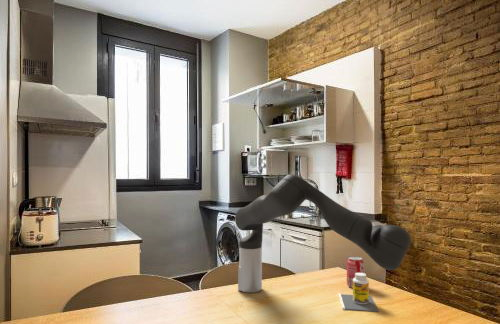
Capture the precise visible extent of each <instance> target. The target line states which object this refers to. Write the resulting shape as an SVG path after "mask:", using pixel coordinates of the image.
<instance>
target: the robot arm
mask: <svg viewBox="0 0 500 324" xmlns="http://www.w3.org/2000/svg"><path fill="white" fill-rule="evenodd" d="M305 201H309V202H310V203H312V204H314V205H315V206H316V207H317V209H318V211H320V214H321V215H322V217H323V219H324V221H325V222H326V224H327V225H328V227H329V228H330V229H331V230H332V231H333V232H335V233H336V234H338V235H339V236H342V237H343V238H345V239H347V240H348V241H350V242H352V243H353V244H355V245H356V246H358V247H359V248H360V249H361V250H363V252H365V253H366V255H368V256H369V257H370V258H371V259H372V260H373V262H374V263H376V264H377V265H378V266H379V267H381V268H382V269H384V270H387V271H395V270H397V269H398V268H399V267H400V266H401V263H402V262H403V259H404V258H405V257H406V254H407V252H408V250H409V249H410V246H411V243H412V237H411V235H410V233H409V232H408V231H407V230H406V229H404V228H403V227H401V226H398V225H394V224H384V223H382V222H380V221H378V220H375V219H371V220H370V219H368V218H366V217H364V216H362V215H361V214H358V213H356V212H355V211H352V210H350V209H348V208H346V207H345V206H343V205H342V204H340V203H338V202H336V201H335V200H333V199H332V198H331V197H330V196H328V195H326V194H325V193H324V192H322V191H321V190H319V189H318V188H317V187H315V186H314V185H312V183H310V182H308V181H306V180H305V179H303V178H302V177H300V176H298V175H295V174H293V173H292V174H287V175H285V176H284V177H283V178H282V179H281V180H280V181H279V182H278V183H276V185H274V186H273V188H272V189H270V191H269V192H268V194H263V195H261V196H259V197H257V198H256V199H254V200H253V201H252V202H250V203H249V204H247V205H246V206H244V207H240V208H239V209H237V211H236V213H235V216H234V217H235V218H234V222H235V225H236V227H237V229H238V230H240V231H251V233H249V234H248V235H246V236H244V237H242V238H241V239H239V243H238V247H239V248H238V249H239V250H238V251H239V259H238V260H239V261H238V262H239V264H238V267H237V268H238V269H237V271H238V272H237V279H238V280H237V282H238V283H237V291H238V292H243V293H253V294H254V293H258V292H259V293H260V292H261V291H262V289H263V283H262V282H263V271H262V270H263V268H262V267H263V247H262V246H263V231H264V230H263V229H264V224H267V223H270V222H271V221H273V220H275V219H277V218H278V217H283V216H288V215H291V214H292V213H294V212H295V211H296V210H297V209H298V208H299V207H300V206H301V205H302V204H303V203H304V202H305Z"/></svg>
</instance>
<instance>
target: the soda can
mask: <svg viewBox="0 0 500 324" xmlns="http://www.w3.org/2000/svg"><path fill="white" fill-rule="evenodd" d="M355 273H365V262H364V260H363V257H361V256H355V255H353V256H348V259H347V261H346V285H347V286H349V288H352V289H353V279H354V278H355Z"/></svg>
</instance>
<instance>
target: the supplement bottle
mask: <svg viewBox="0 0 500 324" xmlns="http://www.w3.org/2000/svg"><path fill="white" fill-rule="evenodd" d="M369 283H370V281H369V280H368V279H367V274H366V273H365V272H364V273H355V278H354V279H353V288H352V295H353V301H354V302H355V303H357V304H362V305H363V304H367V303H368V302H369V296H370V295H369V293H370V292H369V290H370V289H369V288H370V287H369V286H370V284H369Z"/></svg>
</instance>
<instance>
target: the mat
mask: <svg viewBox="0 0 500 324" xmlns="http://www.w3.org/2000/svg"><path fill="white" fill-rule="evenodd" d="M337 294H338V299H339V302H340V305H341V309H342V310H344V311H357V312H358V311H362V312H373V313H374V312H375V313H379V312H380V311H379V309H378V307H377V305H376V303H375V301H374V299H373V296H371V295H369V302H368V303H367V304H363V305H362V304H357V303H355V302H354V301H353V294H345V293H343V294H342V293H339V292H338V293H337Z"/></svg>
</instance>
